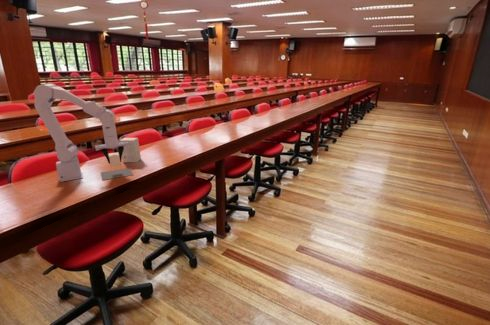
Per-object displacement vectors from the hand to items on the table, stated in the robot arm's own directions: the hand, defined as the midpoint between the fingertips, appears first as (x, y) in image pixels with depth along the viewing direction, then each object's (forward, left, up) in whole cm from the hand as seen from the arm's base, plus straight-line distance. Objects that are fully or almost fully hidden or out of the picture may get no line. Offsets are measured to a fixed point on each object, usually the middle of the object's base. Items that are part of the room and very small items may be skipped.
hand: (114, 162), depth 136 cm
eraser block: (0, 0, -2) cm, 2 cm away
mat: (0, 0, -6) cm, 6 cm away
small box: (+10, +19, -6) cm, 22 cm away
